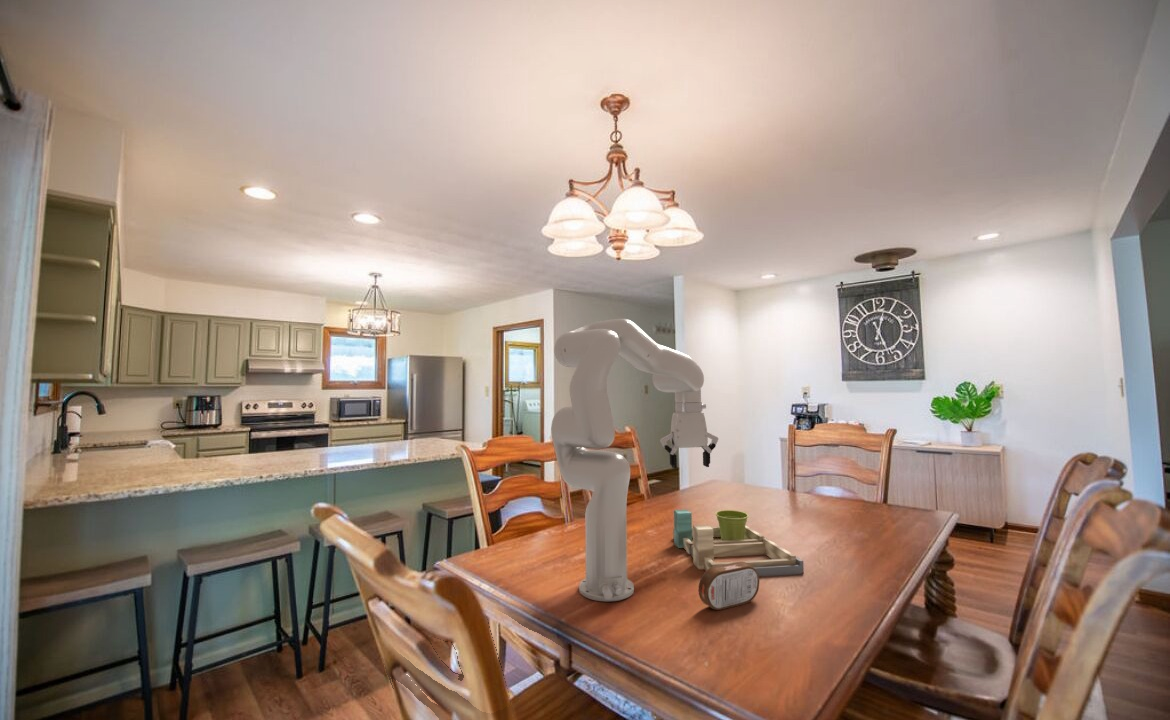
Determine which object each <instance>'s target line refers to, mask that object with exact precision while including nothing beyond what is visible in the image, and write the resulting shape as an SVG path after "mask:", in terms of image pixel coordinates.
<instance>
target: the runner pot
mask: <svg viewBox="0 0 1170 720" xmlns="http://www.w3.org/2000/svg"><path fill="white" fill-rule="evenodd" d="M692 513H693V512H691V511H690V510H688V509H673V528H672V529H673V541H674V544H673V545H674V546H675V547H677V548H678V549H679V548H684V549H685V550H686V551H685V552H686V553H687V554H688V555H690V554H691V550H690V548H692V546H693V539H692V538H693V524H692V523H693V520H692V515H693V514H692ZM710 527H711V528H713V537H721V533H720V527H719V526H710ZM764 537H765V535H762V534H761V533H759V532H758V531H756V530H754V529H753V528H751V527H749V526H747V525H745V534H744V540H725V541H722V540H714V544H733V543H753V542H763V538H764Z"/></svg>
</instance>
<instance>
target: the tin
mask: <svg viewBox="0 0 1170 720" xmlns="http://www.w3.org/2000/svg"><path fill="white" fill-rule="evenodd" d="M739 561H740V562H736V561H734V562H735V563H729V564H724V565H718V566H713V567H711V568H709V569H708V570H707V571H706V570H705V571H704V573H703V574H702V576H701V578H700V579H699V584H698V595H699V598H700V601H701V602H702V603H703V604H704V605H706V606H708V607H709V608H711V609H713V610H716V611H721V610H725V609H729V608H735V607H737V606H741V605H746V604H749V603H751V602H752V601H753V600H754V599H755V598H756V596H757V594H758V592H759V589H760V576H759V574H758V572H757V570H756V569H755V568H754V567H752V566H750V565H749V564H747V563H746V562H743V561H744V560H739Z"/></svg>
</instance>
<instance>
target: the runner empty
mask: <svg viewBox="0 0 1170 720" xmlns="http://www.w3.org/2000/svg"><path fill="white" fill-rule="evenodd" d="M711 527H712V526H710V525H709V524H692V528H693V539H692V542H693V546H692V556H691V557H692V558H693V565H694V566H695V567H696V568H697V569H698V570H704V571H705V572H706V571H707V570H708V569H709V568H711V567H713V566H718V565H724V564H729V563H735V562H740V561H741V560H738V561H719V562H715V558H720V557H721V558H722V557H723V558H724V557H725V558H726V557H739V556H740V557H742V556H759V555H762V556H763V555H765V556H768V558H770V559H759V560H758V559H757V560H742V561H743V562H746V563H747V564H749V565H750V566H752V567H765V566H782V565H796V557H797V555H795V554H794V553H792V552H790V551H789V550H787V549H785V548H784V547H782V546H780V545H779V544H777V543H776V542H774V541H772V540H770V539H769V538H768V537H765V538H763V542H753V543H733V544H714V541H715V540H714V539H715V538H713V528H711Z"/></svg>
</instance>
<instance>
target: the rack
mask: <svg viewBox="0 0 1170 720" xmlns="http://www.w3.org/2000/svg"><path fill="white" fill-rule="evenodd" d="M764 538H766V537H765V536H764ZM690 550H691V555H690V556H691V557H692V548H690ZM754 568H755V569H756V570H757V572H758V574H759V577H772V576H775V577H776V576H789V575H802V574H804V572H805V571H804V570H805V569H804V560H803V559H801V558H799V557H797V556H796V565H782V566H765V567H754Z"/></svg>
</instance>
